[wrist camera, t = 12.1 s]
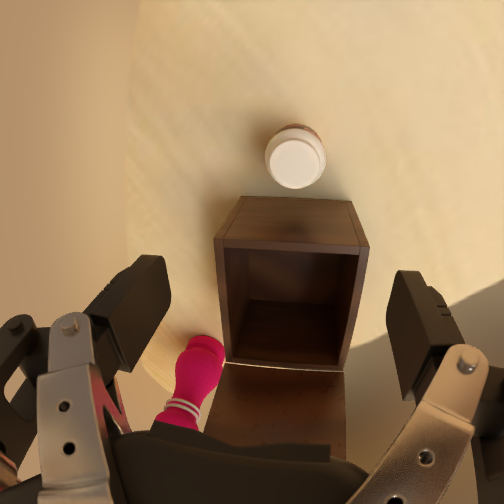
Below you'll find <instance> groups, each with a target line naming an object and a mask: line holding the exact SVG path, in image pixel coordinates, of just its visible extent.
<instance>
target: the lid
mask: <svg viewBox="0 0 504 504" xmlns="http://www.w3.org/2000/svg"><path fill="white" fill-rule="evenodd" d="M203 433H204V434H206V435H209V436H211V437H213V438H216V439H218V440H220V441H223V442H225V443H228V444H230V445H233V446H238V447H242V446H254V445H264V444H273V443H281V442H293V443H310V444H331V447H330V456H334V457H338V458H341V459H343V460H346V412H345V383H344V372H323V371H304V370H289V369H276V368H265V367H255V366H246V365H237V364H229V363H225V364H224V367H223V370H222V374H221V377H220V380H219V383H218V386H217V390H216V393H215V396H214V399H213V403H212V406H211V409H210V412H209V415H208V419H207V422H206V425H205V428H204V431H203Z"/></svg>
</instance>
